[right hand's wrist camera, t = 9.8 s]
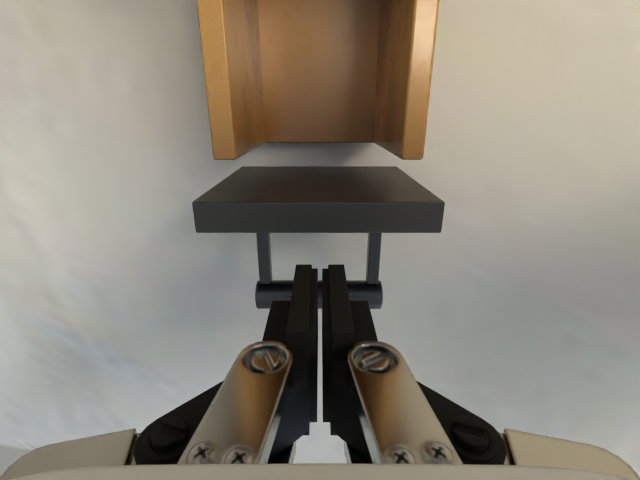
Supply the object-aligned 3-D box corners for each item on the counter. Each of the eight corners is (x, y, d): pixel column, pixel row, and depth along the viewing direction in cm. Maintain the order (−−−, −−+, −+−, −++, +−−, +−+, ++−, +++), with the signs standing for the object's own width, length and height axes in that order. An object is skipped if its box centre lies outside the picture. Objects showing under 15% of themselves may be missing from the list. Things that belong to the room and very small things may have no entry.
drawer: (388, 273, 23) (424, 360, 15) (250, 273, 23) (212, 360, 15) (431, -274, 14) (572, -767, 6) (207, -273, 14) (62, -765, 6)
